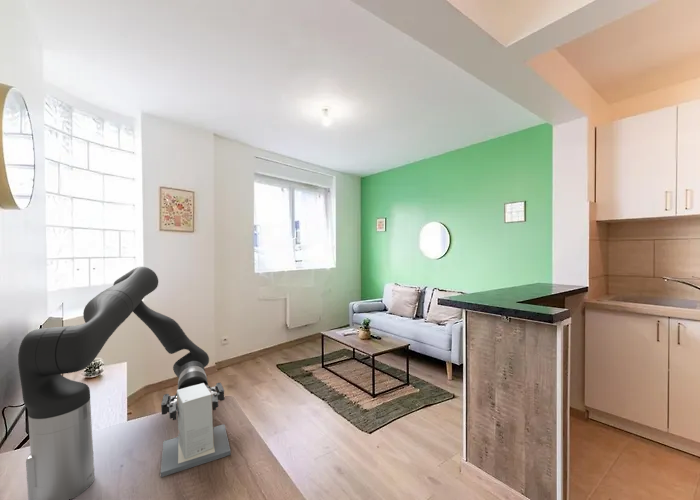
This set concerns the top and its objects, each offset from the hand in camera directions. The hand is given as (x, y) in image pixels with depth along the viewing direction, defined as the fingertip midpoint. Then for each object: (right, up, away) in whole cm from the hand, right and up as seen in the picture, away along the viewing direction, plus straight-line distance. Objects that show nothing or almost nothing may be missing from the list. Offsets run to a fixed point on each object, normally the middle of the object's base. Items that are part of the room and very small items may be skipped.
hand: (194, 411), depth 75 cm
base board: (0, -9, 0) cm, 10 cm away
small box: (0, -9, 0) cm, 9 cm away
